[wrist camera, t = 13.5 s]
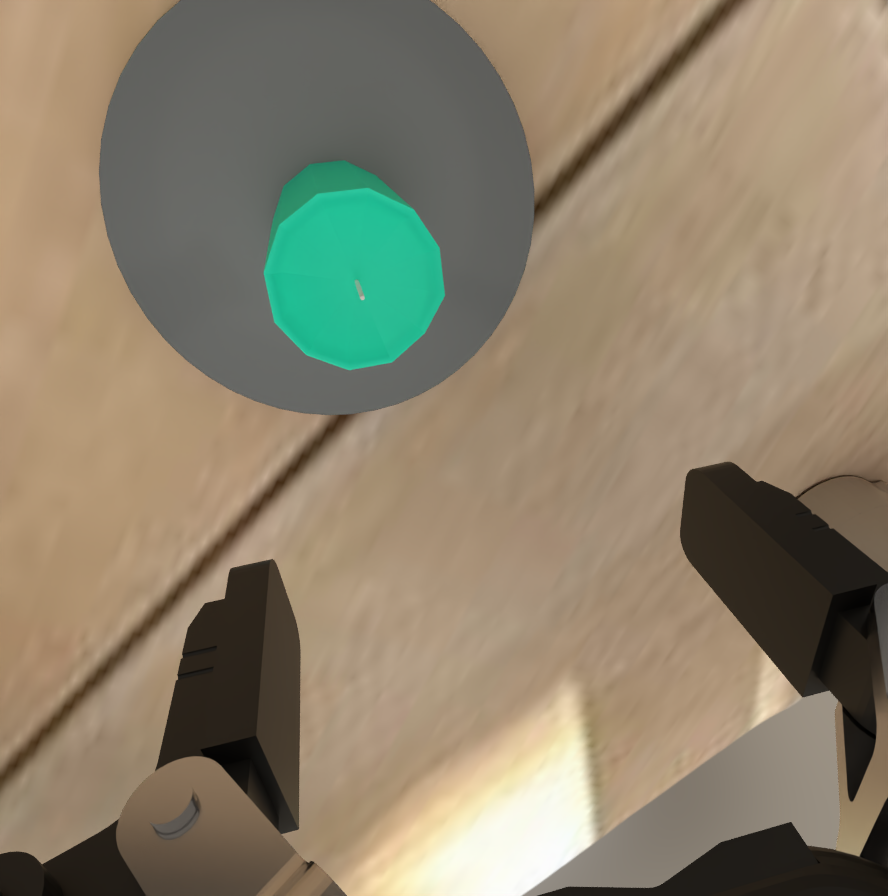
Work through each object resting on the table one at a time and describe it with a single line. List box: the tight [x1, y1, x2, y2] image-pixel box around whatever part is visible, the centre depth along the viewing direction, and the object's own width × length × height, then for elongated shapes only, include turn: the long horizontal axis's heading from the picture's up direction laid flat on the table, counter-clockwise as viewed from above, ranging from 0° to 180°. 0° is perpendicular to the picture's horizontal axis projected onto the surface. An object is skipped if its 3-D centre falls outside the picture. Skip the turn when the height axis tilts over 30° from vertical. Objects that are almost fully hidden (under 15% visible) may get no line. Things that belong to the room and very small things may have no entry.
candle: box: [264, 160, 445, 370], centre depth 24 cm, size 6×6×12 cm
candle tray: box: [99, 0, 534, 415], centre depth 29 cm, size 20×20×1 cm
